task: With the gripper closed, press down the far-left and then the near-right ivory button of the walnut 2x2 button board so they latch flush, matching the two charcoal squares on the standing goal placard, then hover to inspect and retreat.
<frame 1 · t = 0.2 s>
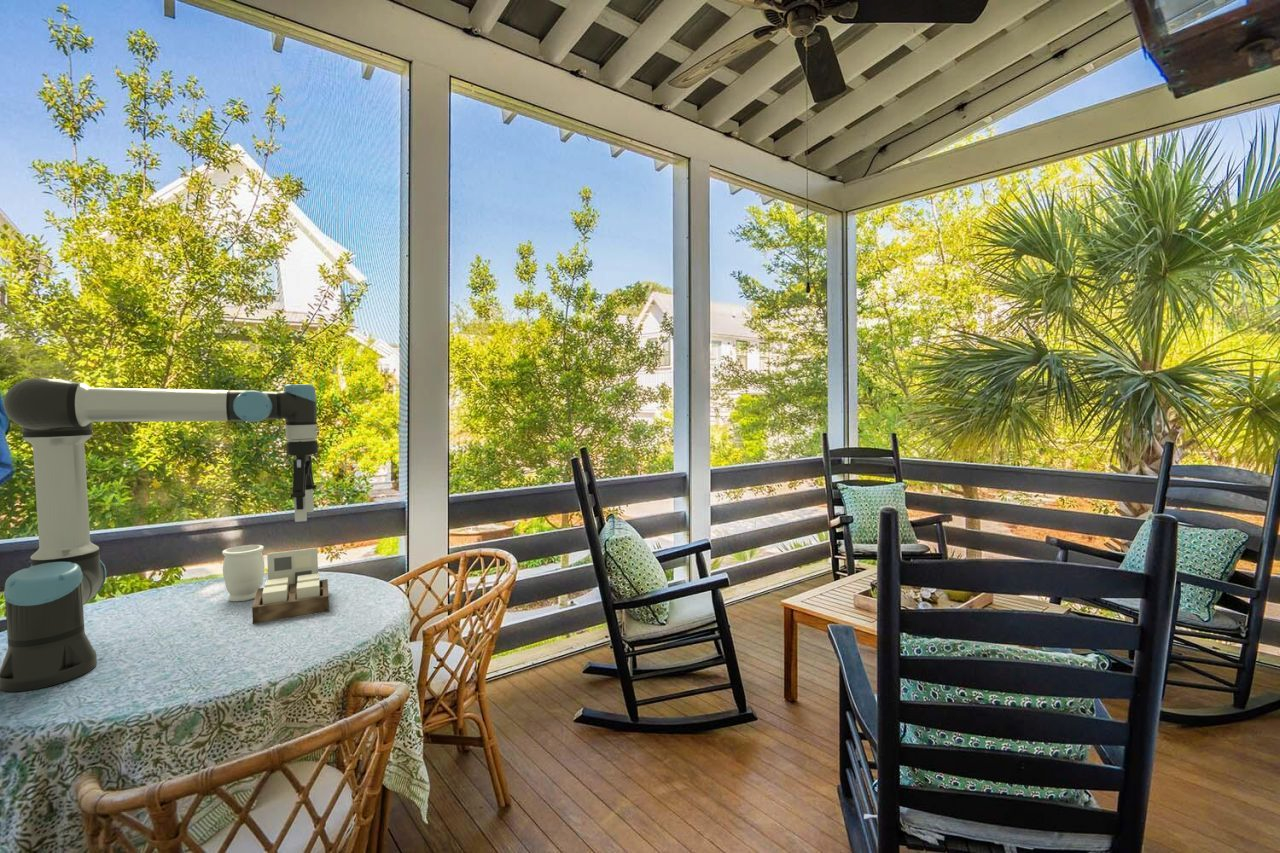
hand: (304, 516, 161), 27 cm above the table, fingers open, 13 cm apart
jar: (245, 598, 176), on the table
button far left: (276, 587, 168), point 5 cm above the table, slide at 0.0 cm
button far right: (308, 583, 172), point 5 cm above the table, slide at 0.0 cm
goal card: (294, 596, 177), on the table
button near left: (275, 596, 161), point 5 cm above the table, slide at 0.0 cm
board: (293, 607, 167), on the table
button near right: (308, 591, 165), point 5 cm above the table, slide at 0.0 cm
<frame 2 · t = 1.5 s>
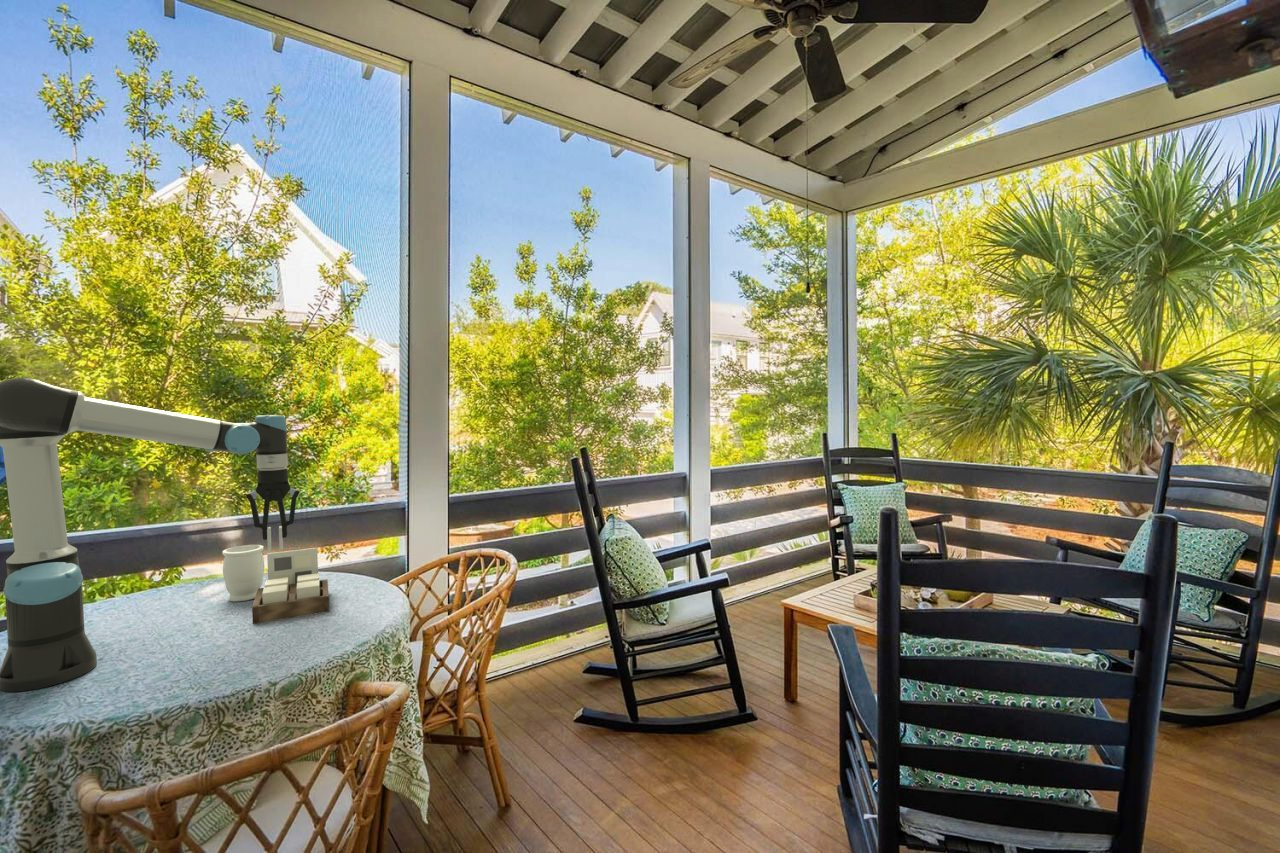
hand: (275, 549, 168), 16 cm above the table, fingers open, 2 cm apart
nothing on the table moved.
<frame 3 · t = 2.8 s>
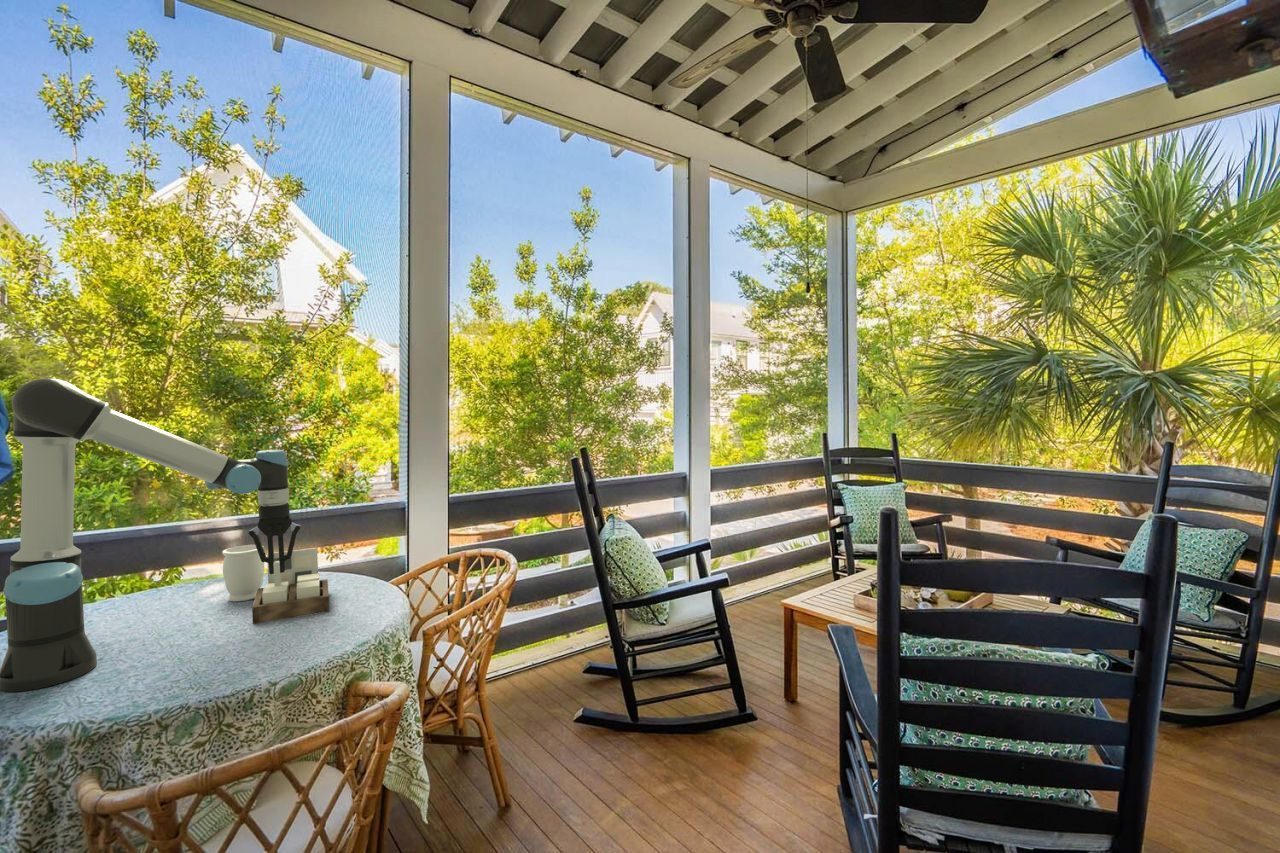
hand: (277, 584, 169), 6 cm above the table, fingers closed
button far left: (277, 591, 168), point 4 cm above the table, slide at 1.2 cm, touching gripper
everything else where it was.
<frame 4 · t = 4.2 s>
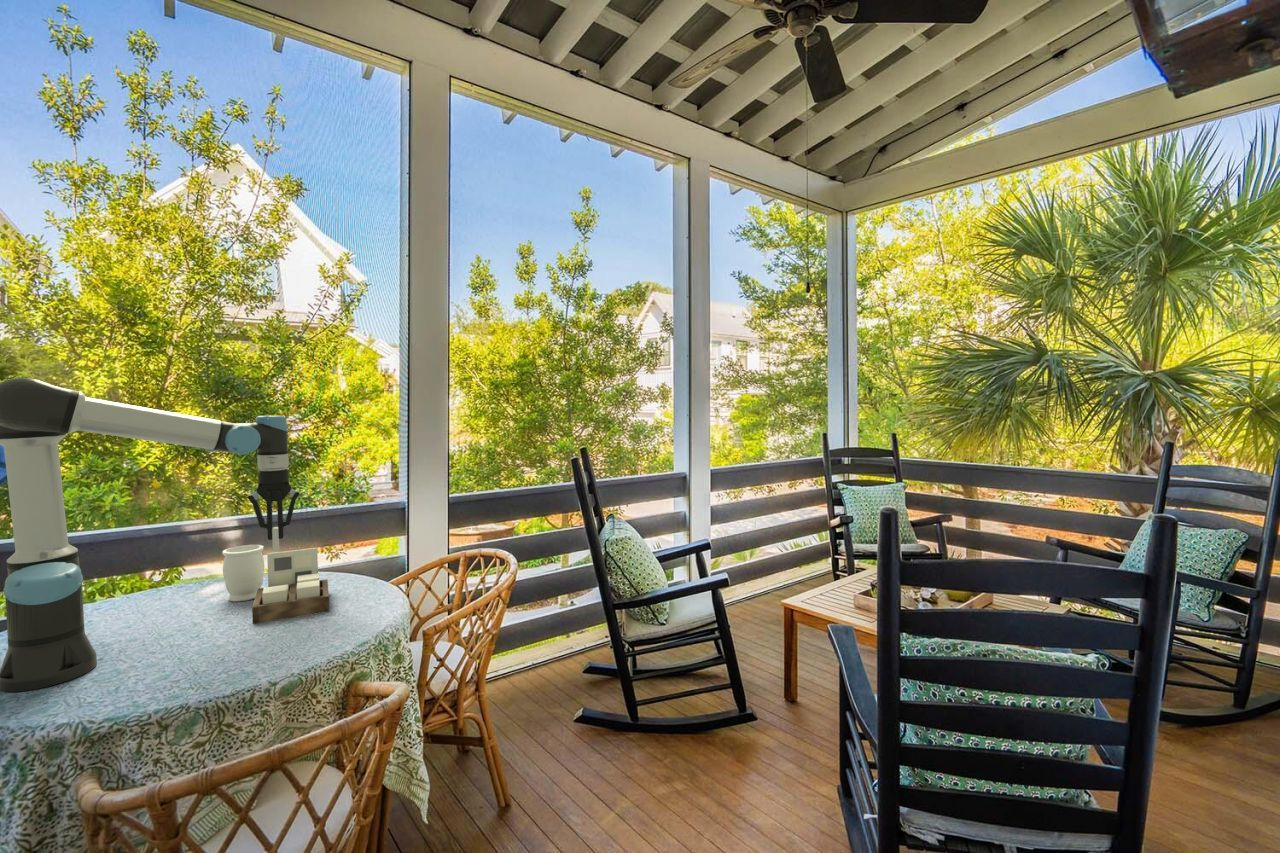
hand: (276, 550, 168), 16 cm above the table, fingers closed
button far left: (277, 595, 169), point 3 cm above the table, slide at 2.2 cm
everything else where it was.
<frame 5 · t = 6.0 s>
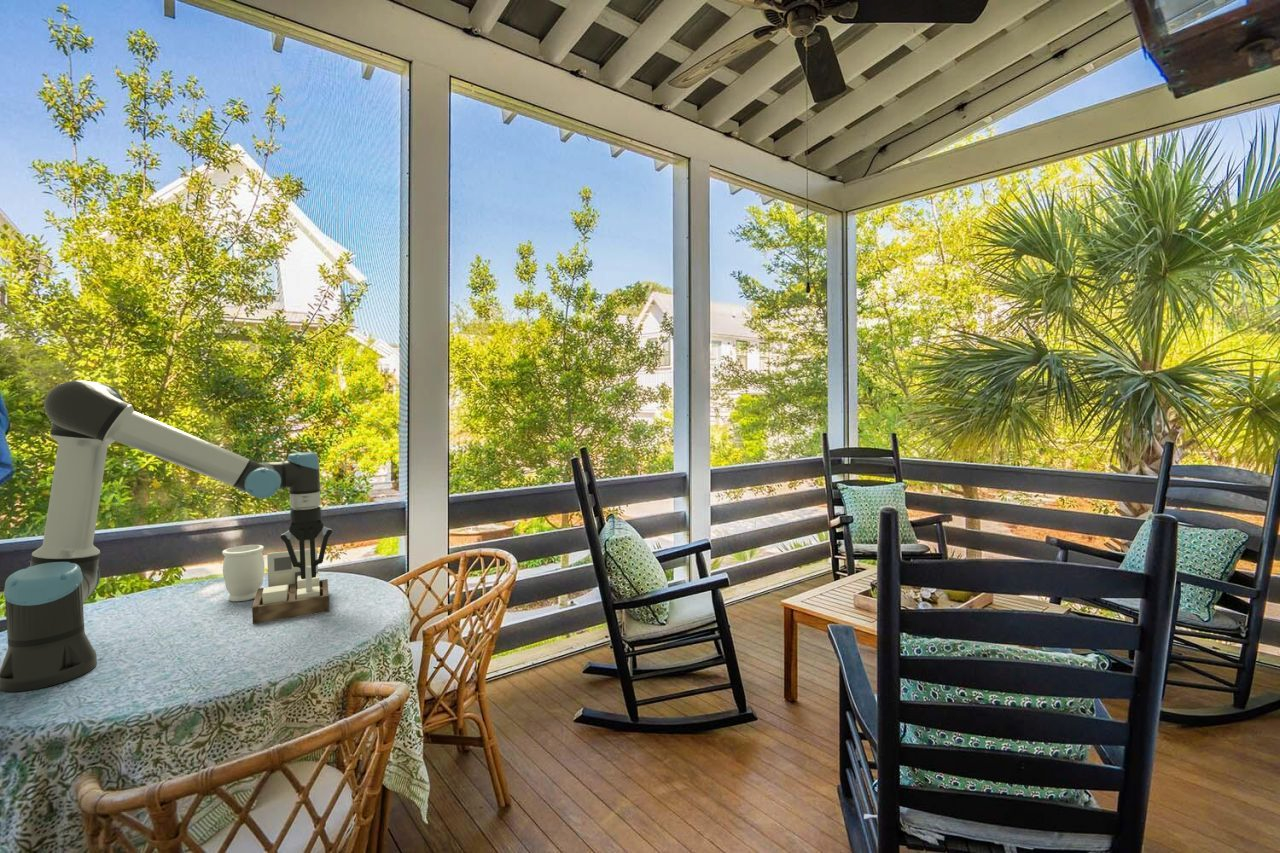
hand: (309, 589, 165), 6 cm above the table, fingers closed
button near right: (308, 597, 165), point 3 cm above the table, slide at 1.7 cm, touching gripper
everything else where it was.
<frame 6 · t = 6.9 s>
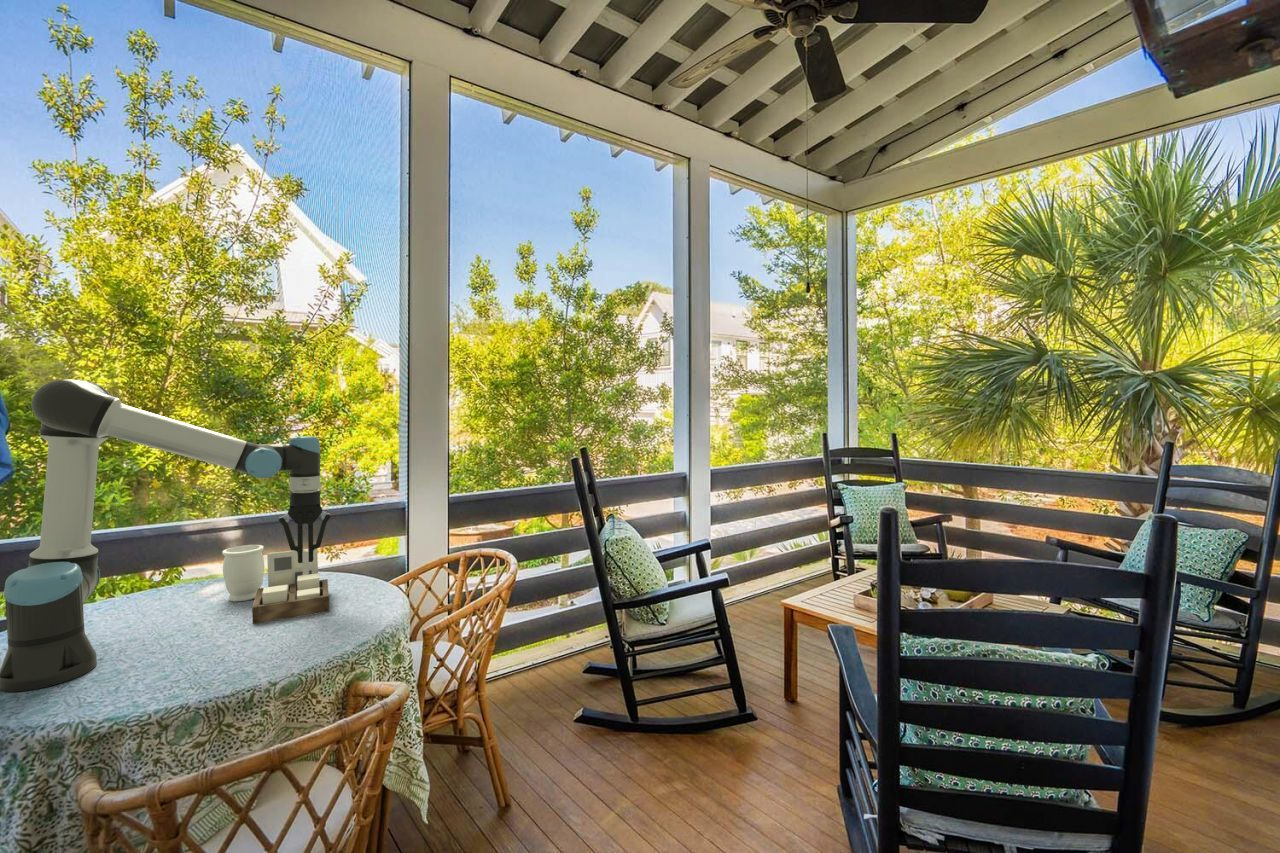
hand: (305, 573, 165), 10 cm above the table, fingers closed
button near right: (308, 598, 165), point 3 cm above the table, slide at 2.2 cm
everything else where it was.
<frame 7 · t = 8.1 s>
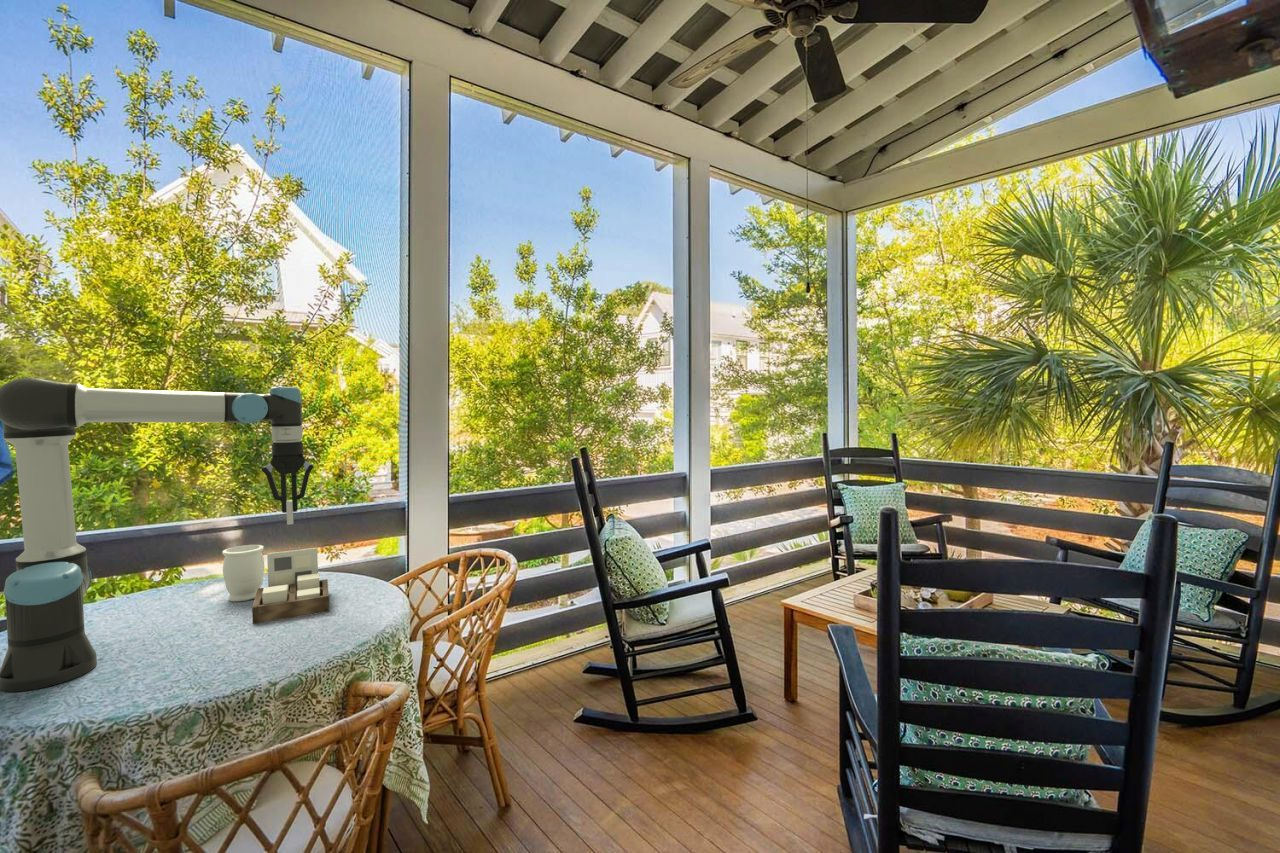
hand: (290, 523, 166), 24 cm above the table, fingers closed
nothing on the table moved.
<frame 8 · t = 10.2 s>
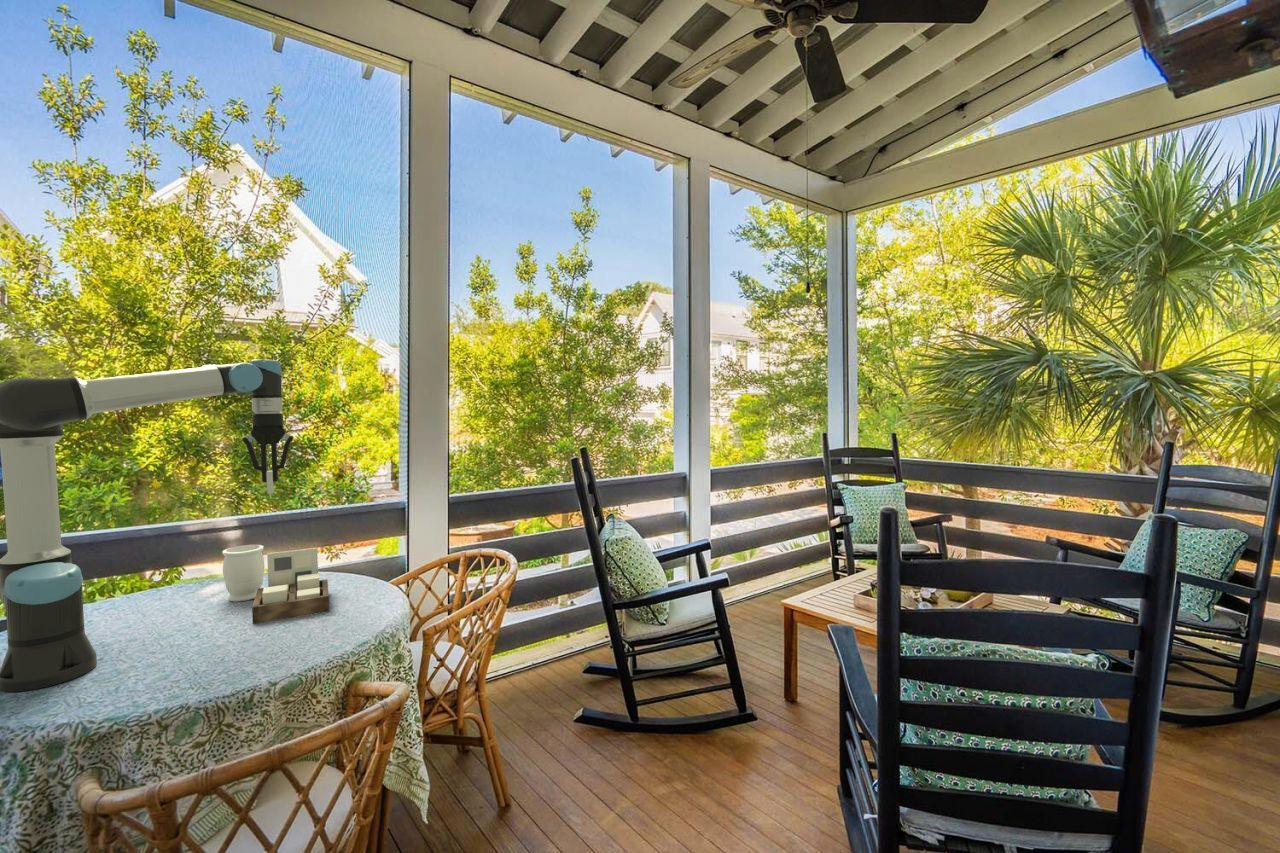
hand: (270, 493, 171), 32 cm above the table, fingers closed
nothing on the table moved.
at the end: button far left slide at 2.2 cm; button near right slide at 2.2 cm; button near left slide at 0.0 cm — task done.
